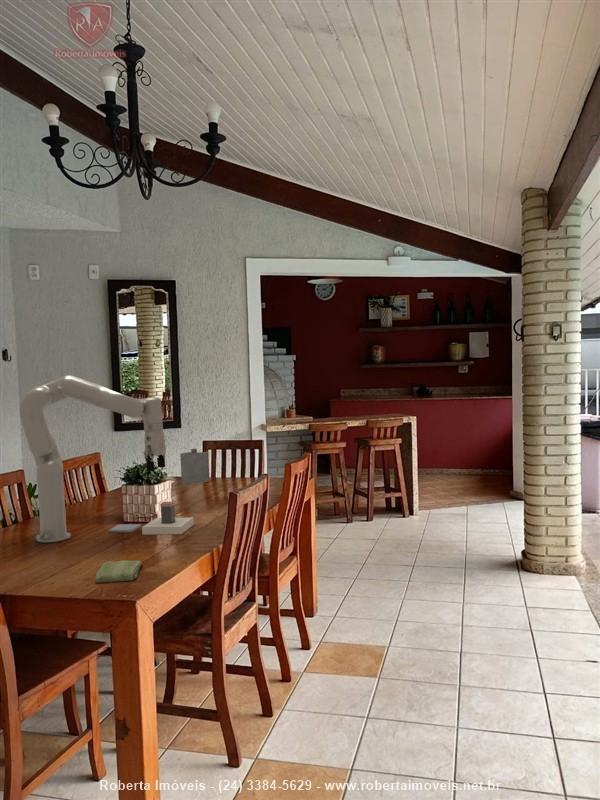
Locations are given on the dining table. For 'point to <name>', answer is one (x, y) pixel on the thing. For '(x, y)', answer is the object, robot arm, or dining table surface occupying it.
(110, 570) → the washcloth
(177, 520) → the white square slab
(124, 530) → the mat
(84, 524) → the dining table surface
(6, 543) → the dining table surface
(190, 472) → the hip flask
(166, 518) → the plug
